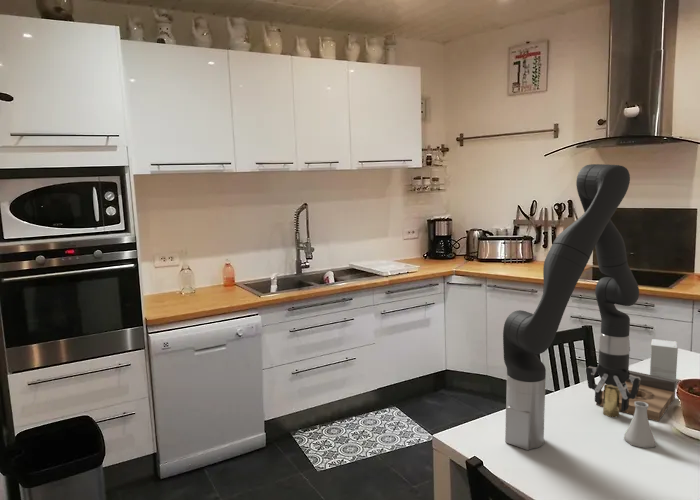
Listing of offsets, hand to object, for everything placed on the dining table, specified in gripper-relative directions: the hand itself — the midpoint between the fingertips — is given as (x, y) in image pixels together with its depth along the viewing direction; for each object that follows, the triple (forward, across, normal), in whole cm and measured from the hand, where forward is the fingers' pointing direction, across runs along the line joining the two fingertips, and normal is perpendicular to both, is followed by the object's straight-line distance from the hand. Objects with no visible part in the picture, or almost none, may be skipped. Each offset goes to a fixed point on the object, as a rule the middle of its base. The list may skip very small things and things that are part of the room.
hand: (611, 407), depth 143 cm
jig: (+2, +3, +14) cm, 14 cm away
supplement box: (+2, +5, +36) cm, 37 cm away
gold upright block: (+2, 0, 0) cm, 2 cm away
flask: (+2, +10, -12) cm, 15 cm away
